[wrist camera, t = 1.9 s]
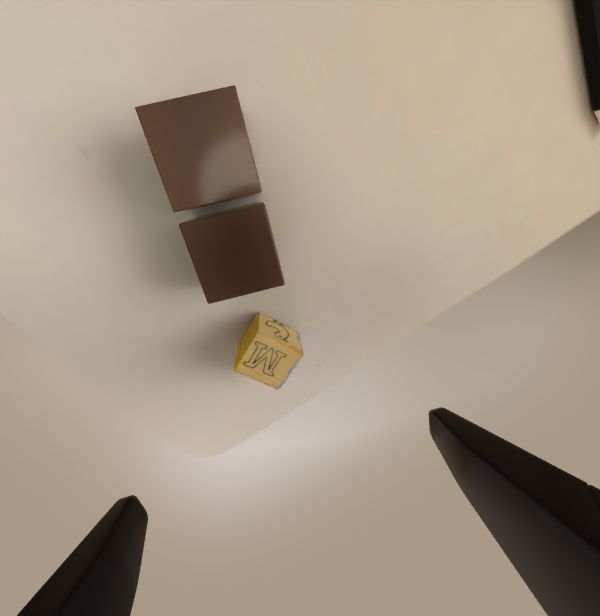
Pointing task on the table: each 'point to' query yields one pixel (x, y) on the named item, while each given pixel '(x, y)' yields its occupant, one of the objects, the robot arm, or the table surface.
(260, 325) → the alphabet block
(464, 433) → the robot arm
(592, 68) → the pen
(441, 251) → the table surface
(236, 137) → the brown double block
